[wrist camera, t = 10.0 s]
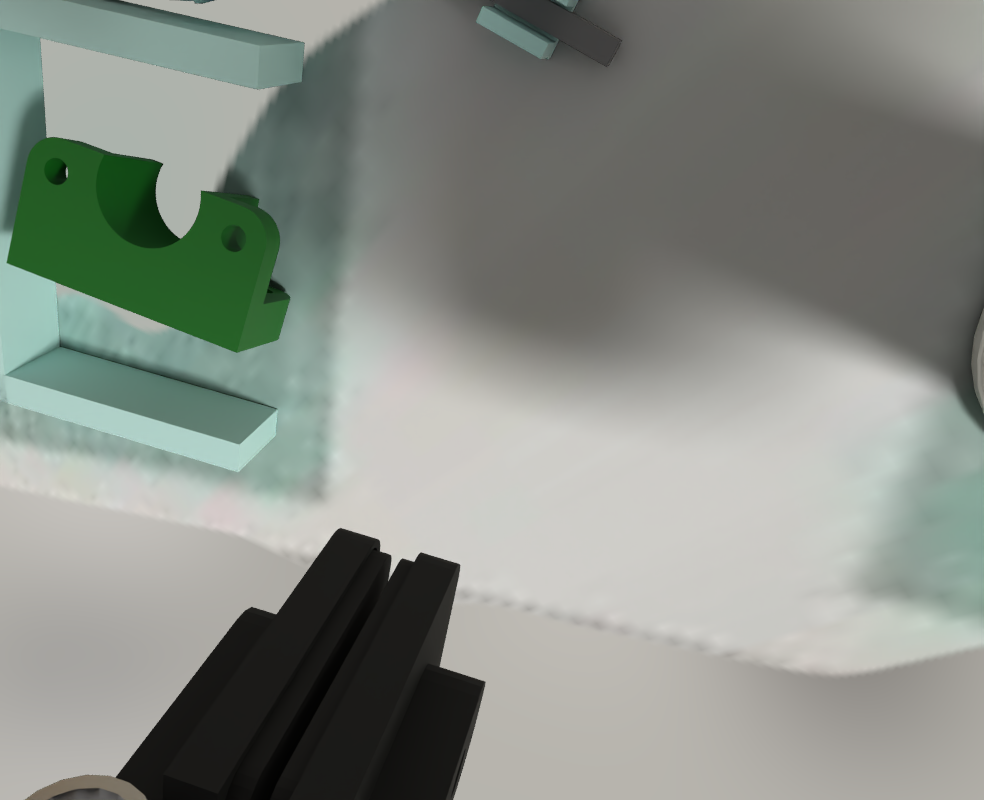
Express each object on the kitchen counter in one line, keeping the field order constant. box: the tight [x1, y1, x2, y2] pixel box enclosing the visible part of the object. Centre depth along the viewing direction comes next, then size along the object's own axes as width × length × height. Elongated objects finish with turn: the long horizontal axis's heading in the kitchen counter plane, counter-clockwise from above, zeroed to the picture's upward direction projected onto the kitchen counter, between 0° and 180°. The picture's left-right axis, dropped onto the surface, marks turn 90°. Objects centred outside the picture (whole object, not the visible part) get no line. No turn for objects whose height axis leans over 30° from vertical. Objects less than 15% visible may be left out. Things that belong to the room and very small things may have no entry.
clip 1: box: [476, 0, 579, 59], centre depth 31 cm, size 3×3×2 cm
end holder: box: [0, 0, 305, 472], centre depth 38 cm, size 14×20×4 cm
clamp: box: [7, 137, 290, 353], centre depth 37 cm, size 12×6×9 cm, turn 67°
